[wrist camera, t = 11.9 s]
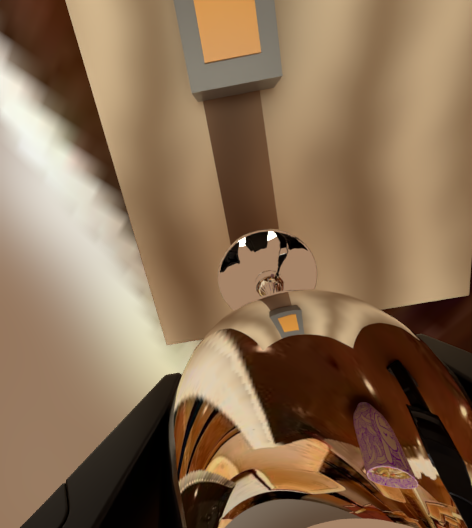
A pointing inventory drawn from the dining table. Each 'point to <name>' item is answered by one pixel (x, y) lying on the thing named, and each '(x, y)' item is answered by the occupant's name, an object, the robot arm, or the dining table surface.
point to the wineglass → (312, 410)
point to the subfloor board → (294, 149)
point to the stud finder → (229, 46)
